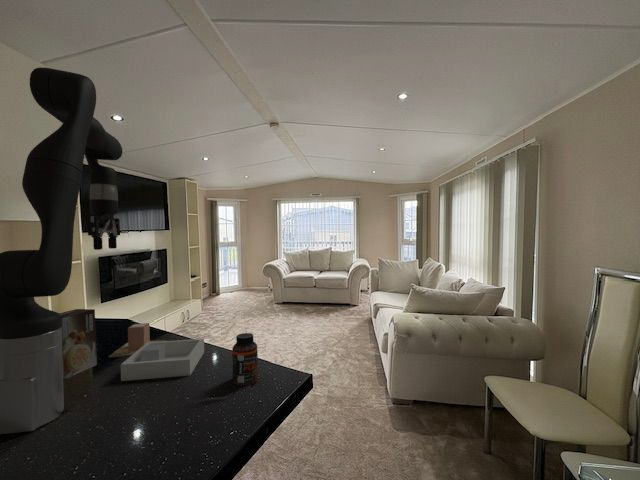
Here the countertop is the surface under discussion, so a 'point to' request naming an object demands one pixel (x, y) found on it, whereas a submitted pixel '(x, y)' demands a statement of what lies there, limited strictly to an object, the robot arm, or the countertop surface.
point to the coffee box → (78, 341)
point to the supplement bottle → (245, 360)
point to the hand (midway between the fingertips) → (105, 249)
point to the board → (126, 351)
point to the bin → (164, 361)
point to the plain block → (153, 353)
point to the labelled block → (138, 336)
